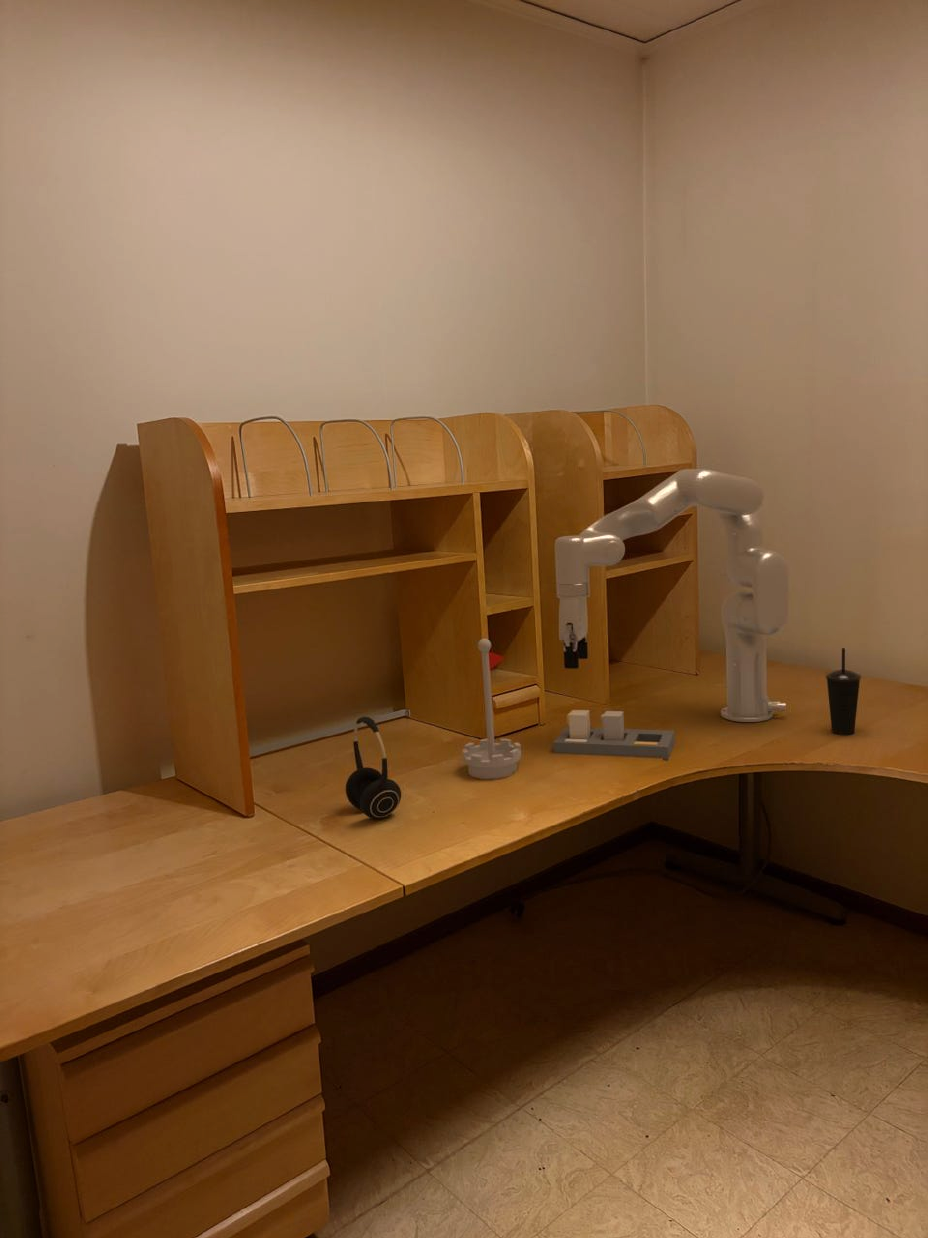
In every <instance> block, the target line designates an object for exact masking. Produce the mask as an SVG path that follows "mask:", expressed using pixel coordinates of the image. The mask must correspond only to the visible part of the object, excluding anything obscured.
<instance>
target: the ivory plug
mask: <svg viewBox="0 0 928 1238" xmlns="http://www.w3.org/2000/svg"><path fill="white" fill-rule="evenodd" d="M590 720H591V718H590V710H588V709H587V710H585V709H584V710H583V709H572V710H571V711H570V712H569V713H568V714H567V715H566V724H567V725H569V726H568V727H569V730H570V739H590V738H591V737H590V728H591V721H590Z"/></svg>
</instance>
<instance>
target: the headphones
mask: <svg viewBox="0 0 928 1238" xmlns="http://www.w3.org/2000/svg"><path fill="white" fill-rule="evenodd" d="M361 723H364V724H365V725H367V727H369V728H370V729H371V731H372V732H373V734H375V736H376V738H377V740H378V743H379V746H380V751H381V756H382V757H381V764H382V765H381V772H380V771H379V770H377V769H375V768H373V767H369V766H368V767H364V765H363V759H362V756H361V752H360V749H359V748H360V747H359V742H358V729H359V726H360V724H361ZM379 732H380V730H379V728H378V726H377V724H376V722H375V720H374V719H373V718H371V717H369V716H362V717H359V718H358V719H357V720H356V724H355V726H354V729H353V741H352V743H353V744H352V746H353V753H354V760H355V766H356V770H354V771H353V772H352V773H351V774H350V775H349V777H348V778H347V781H346V784H345V795H346V798H347V800H348V802H349V803H350V804H351V805H352V806H353V807H354V808H356V809H358V810H360V811H362V813H363V814H364V815H365V816H366V817H367V818H371V819H376V820H377V819H382V818H386V817H388V816H389V815H391V814H392V813H393V812H394V811H395V810H396V809H397V808H398V807H399V805H400V803H401V799H402V790H401V787H400V786H399V784H398V783H397V782H396V781H395V780H393V779H390V778H389V777H388V776H389V774H388V771H389V770H388V758H387V755H386V749H385V746H384V742H383V740H382V737H381V735H380V733H379Z"/></svg>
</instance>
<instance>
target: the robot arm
mask: <svg viewBox="0 0 928 1238" xmlns="http://www.w3.org/2000/svg"><path fill="white" fill-rule="evenodd" d="M763 502H764V491H763V489H762V487H761V485H760V484H759V483H758V482H757V481H755V480H753V479H752V478H749V477H748V478H747V477H742V476H738V475H734V474H728V473H724V472H721V471H716V470H712V469H705V468H695V469H694V468H693V469H692V468H687V469H681V470H679V471H676V472H674V473H673V474H672V475H671V476H669V477H668V478H666V479H665V480H663V481H662V482H660V483H659V484H657V485H656V486H654V488H653V489H651V490H650V491H647V492H646V493H645V494H644V495H642V496H640V498H638V499H637V500H635V501H633V502H630V503H628V504H626V505H624V506H622V507H620V508H619V509H615V510H614V511H612V512H609V513H608V514H606V515H604V516H602V517H600V518H599V519H598V520H596V521H594V522H593V523H592V524H591V525H589V526H587V527H586V528H585V529H584V530H582V531H581V532H580V533H579V535H563V536H560V537H558V538H556V539H555V541H554V556H555V557H554V558H555V560H554V561H555V577H556V578H555V579H556V580H555V581H556V598H557V599H559V606H558V607H559V608H558V639H559V641H560V642H563V663H564V664H563V665H564V669H568V670H569V669H571V670H572V669H573V670H577V669H579V667H580V665H579V661H580V660H587V659H588V658H589V657H588V655H589V653H588V652H589V651H588V636H587V634H588V630H589V629H588V628H589V621H588V620H589V619H588V618H589V617H588V606H587V605H588V604H587V603H588V602H587V598H590V597H591V586H590V585H591V584H590V583H591V582H590V567H592V566H593V567H594V566H597V567H610V566H614V565H616V564H618V563H619V562H620V561H621V560H623V557H625V556H624V555H625V552H626V547H625V546H626V545H625V543H624V541H625V540H627V539H630V538H633V537H636V536H642V535H646V534H650V533H653V532H656V531H658V530H660V529H662V528H663V527H665V526H666V525H667V524H669V523H670V522H671V521H672V520H674V519H675V518H677V517H678V516H679V515H681V514H682V513H683V512H685V511H687V510H688V509H689V508H691V507H705V508H707V509H709V510H710V512H711V511H712V512H713V513H714V514H715V515H716V516H718V518H719V519H720V520H721V522H722V525H723V526H724V527H723V528H724V530H725V543H726V573H727V575H726V576H727V577H728V579H729V581H731V583H732V584H734V585H736V586H741V587H745V588H750V589H752V591H747V590H738V591H734V592H731V593H730V594H729V595H727V597H725V599H724V601H723V603H722V605H721V611H720V612H721V613H720V614H721V620H722V625H723V630H724V634H725V637H724V638H725V649H726V650H725V651H726V652H725V654H726V655H725V658H726V662H725V665H726V667H725V668H726V704H727V705H726V706H725V707H723V708H722V709H720V716H721V717H722V718H723V719H725V720H729V721H733V722H740V723H757V722H764V721H767V720H768V721H769V720H770V719H772V718H773V717H774V711H779V712H785V711H786V709H787V708H786V707H787V706H786V702H782V701H777V700H775V701H771V700H770V699H769V695H767V645H766V639H765V636H775V635H777V634H779V633H780V632H782V630H783V629H784V628H785V626H786V625H787V622H788V618H789V569H788V565H787V563H786V560H785V559H784V557H783V556H782V555H781V554H779V552H776V551H774V550H770V549H764V548H765V547H764V541H763V540H764V539H763V527H762V522H761V518H760V516H759V513H758V511H759V509H760V508H761V507H762V505H763Z"/></svg>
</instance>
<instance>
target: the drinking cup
mask: <svg viewBox="0 0 928 1238" xmlns="http://www.w3.org/2000/svg"><path fill="white" fill-rule="evenodd" d="M825 679H826V684H827V692H828V694H827V696H828V703H829V704H828V705H829V706H828V707H829V714H830V724H831V725H830V726H831V733H833V734H835V735H838V736H850V735H853V734H855V730H856V729H855V727H856V721H857V720H856V719H857V711H858V701H859V690H860V682H861V679H862V675H861V674H860V673H857V672H855V671H853V670H850V669H846V648H845V647H843V648H841V669H835V670H833V671H830V672H827V673H825Z"/></svg>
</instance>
